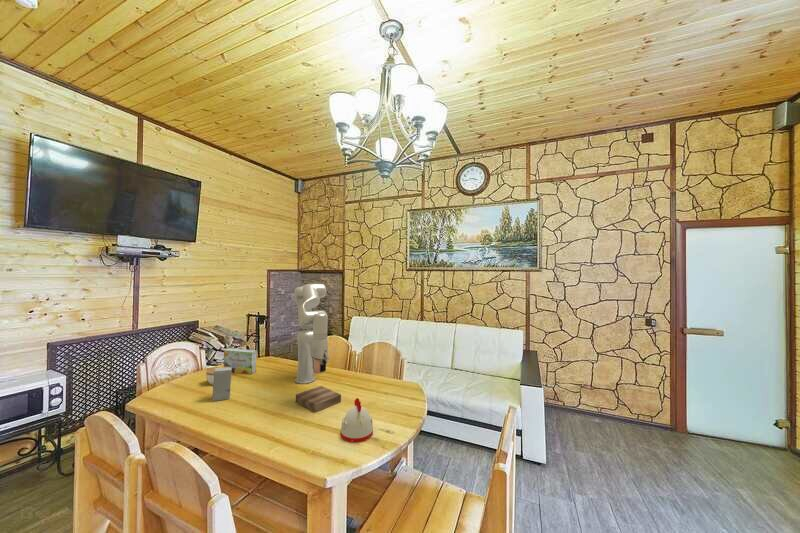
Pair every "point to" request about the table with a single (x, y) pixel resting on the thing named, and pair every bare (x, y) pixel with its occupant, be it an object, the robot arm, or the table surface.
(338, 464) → the table surface
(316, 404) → the walnut platform
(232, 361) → the snack box
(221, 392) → the skincare box
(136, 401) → the table surface
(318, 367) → the terracotta cylinder
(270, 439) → the table surface
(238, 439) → the table surface
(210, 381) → the lidded jar
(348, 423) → the kitchen timer
